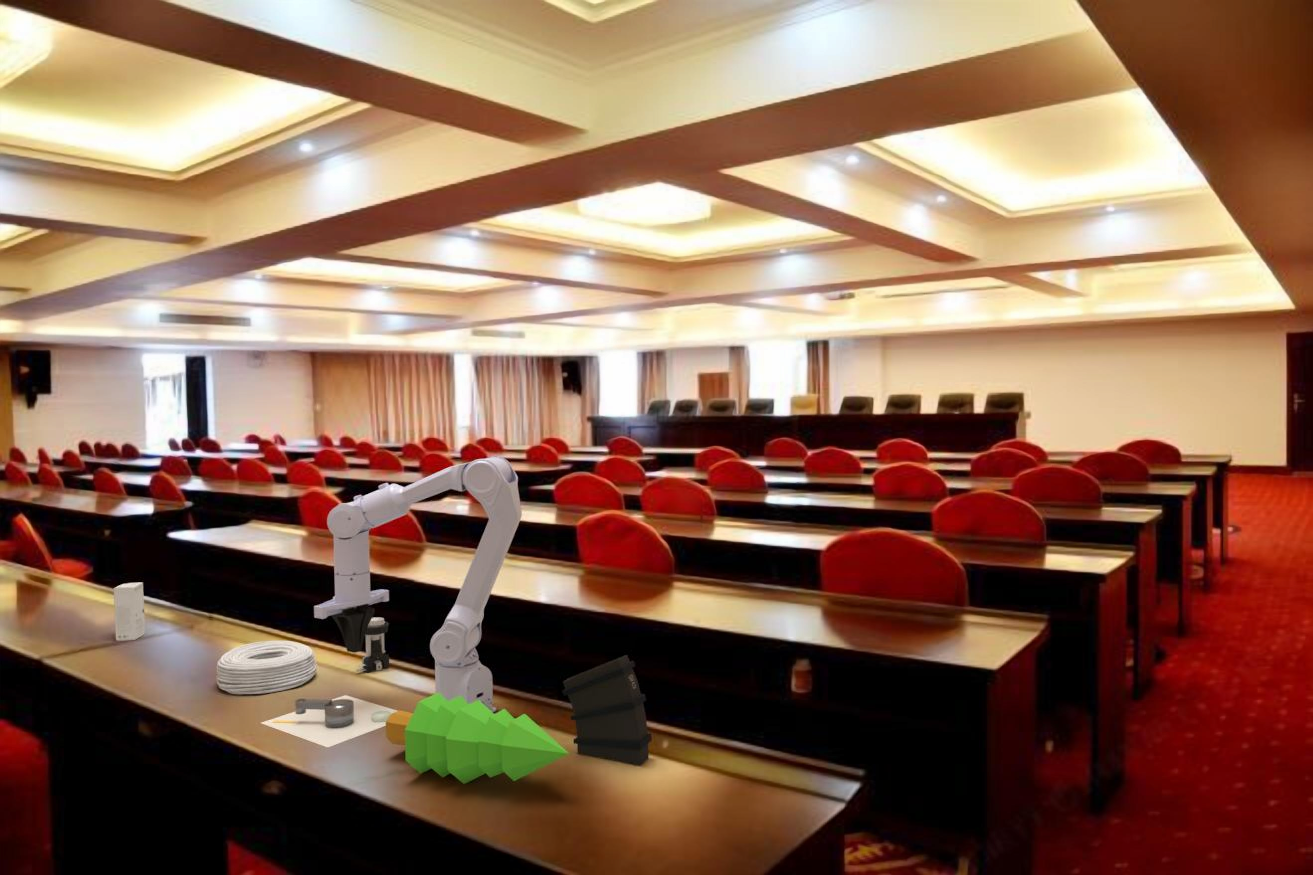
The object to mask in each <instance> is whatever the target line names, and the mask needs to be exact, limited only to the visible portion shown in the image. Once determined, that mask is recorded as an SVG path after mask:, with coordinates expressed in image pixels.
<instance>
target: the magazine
mask: <svg viewBox="0 0 1313 875" xmlns="http://www.w3.org/2000/svg"><path fill="white" fill-rule="evenodd" d="M634 667H636V663H635V661H634V660H632V661H630V659H629V657H628V654H627V655H626V654H625V655H623V656H620V657H618V658H616V659H615V658H614V659H613V660H611V661H607V662H606V663H603V664H600V665H597V666H595V667H593V668H590V669H588V670H585V671H583V672H580V673H578V674H576V675H572V676H571V677H568V678H567V679H566V680H563V681H562V684H563V686H564V689H563V690H561V692H562V694H563V696H564V697H565V696H567V697H568V699H569V702H570V705H571V708H572V712H573V714H572V715H571V716H570V721H575V727H576V729H575V730H576V737H575V738H573V744H574V745H575V744H576V745H577V747H576V748H577V750H576V751H577V753H578V754H580V755H581V754H582V755H587V756H592V757H596V758H600V759H606V760H612V761H616V762H619V763H620V762H621V763H626V764H630V765H635V766H641V765H643V763H645V762H646V761H647V760H648V759H649V757H650V756H649V755H650V753H649V744H650V743H651V742H652V741H653V738H652V736H653V735H652V733H649V732H648V724H647V716H646V710H645V706H644V702H646V701H647V697H646V694H645V693H641V690H640V686H639V681H638V678H637V676H636V673H635V670H634V669H633V668H634Z"/></svg>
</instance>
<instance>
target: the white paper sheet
mask: <svg viewBox="0 0 1313 875" xmlns="http://www.w3.org/2000/svg"><path fill="white" fill-rule="evenodd" d="M339 699H349V700H352V701H353V702H354V722H353V723H351V724H349V725H346V726H342V727H328V726H326V725H325V710H316V709H306V713H304V714H295V711H292V712H289V713H285V714H284V715H280V716H278V717H275V718H271V719H269V720H265V721H263V722H262V721H261V722H260V724H262V725H264V726H267V727H270V728H272V729H274V730H275V729H276V730H277V731H281V732H283V733H285V734H289V735H292V736H295V737H298V738H300V739H304V740H306V741H308V742H311V743H314V744H317V745H319V746H322V747H325V748H331V747H333V746H336V745H338V744H341V743H344V742H346V741H350V740H351V739H355V738H357V737H360V736H362V735H365V734H367V733H370V732H373V731H376V730H378V729H380V728H381V729H382V728H383V727H386V721H387V719H388V718H389V717H390V715H391V714H392V713H394V712H397V711H398V710H396V709H393V708H390V707H387V706H385V705H380V704H376V703H373V702H370V701H367V700H363V699H360V698H357V697H353V696H350V695H345V694H344V695H342V696H338V697H335V698H333V699H331V700H332V701H334V700H339Z"/></svg>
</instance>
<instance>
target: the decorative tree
mask: <svg viewBox="0 0 1313 875" xmlns="http://www.w3.org/2000/svg"><path fill="white" fill-rule="evenodd" d="M385 730H386V731H385V734H386V736H385V737H386V738H387V740H388V741H389V742H390V743H391V744H392V745H397V746H398V745H400V746H405V748H404V752H405V762H407V763H408V764H409V765H410V766H411V767H413V768H414V769H415V770H416V771H417V772H418V773H420V774H423V773H425V772H427V771H429V770H433V771H434V772H435V773H436V774H438V775H439V776H440V777H441V778H442V779H443V778H445V777H446V776H448V775H450V774H451V775H452V776H454V777H455V778H456V779H457V780H458V781H459V782H461V783H462V784H463V785H466V784H467V783H469V782H471V781H473V780H476V779H477V778H479V777H481V776H483V775H485V774H486V775H487V776H488V777H489V778H493V777H495V776H497V775H500V774H503V773H504V774H505V775H507V776H508V778H510V779H511V780H512V781H513V782H515V781H517V780H520V779H522V778H523V777H525V776H528V775H530V774H532V773H533V772H535V771H538V770H539V769H542V768H543V767H546V766H548V765H549V764H550V765H551V763H553V762H555V761H558V760H559V759H561V758H563V757H566V756H567V755H569V754H570V753H569V751H568V750H567V749H565V748H564V747H563V746H561V744H559V743H558V741H556V740H555V739H554V738H553V737H552V736H550V734H548V733H547V732H546V731H545V730H544V729H542V727H541V726H539V725H538V723H536V722H535V721H534V720H532V719H531V718H530V716H528V715H527V714H525V713H523V714H521V715H520V716H518V717H515V718H514V716H512V715H511V713H510V712H509V711H507V709H505V708H503V709H501V710H500V711H498V712H492V711H490V710H489V709H488V708H487V707H486V706H485V705H484V704H483V703H482V702H481V701H479V700H477V701H475V702H473V703H471V704H468V703H467V702H466V701H465V700H464V699H463V698H462V697H461V696H458V697H456V698H453V699H451V700H449V701H447V700H446V699H445V698H444V697H443V696H442V695H441V694H440V693H435V694H433V695H430V696H428V697H426V698H423V699H422V700H419V701H418V703H417V705H416V707H415V709H414V711H413V712H409V711H404V710H401V709H400V710H397V712H394V713H392V714H391V715H390V717H389V718H388V719H387V721H386V726H385Z"/></svg>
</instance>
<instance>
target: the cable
mask: <svg viewBox="0 0 1313 875" xmlns="http://www.w3.org/2000/svg"><path fill="white" fill-rule="evenodd" d="M216 664H217V665H216V683H217V686H218V688H219V689H221V690H223V691H226V692H227V693H229V694H232V695H259V694H268V693H269V694H271V693H276V692H280V691H285V690H290V689H292V688H293V689H294V688H296V687H299V686H302V685H304V684H305V683H307V682H308V681H310V680H311V679H312V678H313V677H314V675H315V674H316V673H317V669H318V668H317V667H318V665H317V662H316V659H315V653H314V650H313V649H312V648H311V647H310V646H308V645H306V644H303V643H300V642H296V641H291V640H265V641H256V642H250V643H246V644H242V645H240V646H237V647H234V648H233V649H232V648H231V649H230V650H229V651H227V652H225V653H224V654H223V655H222V656H221V657H220V658H219V660H218V661H217V663H216Z"/></svg>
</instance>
